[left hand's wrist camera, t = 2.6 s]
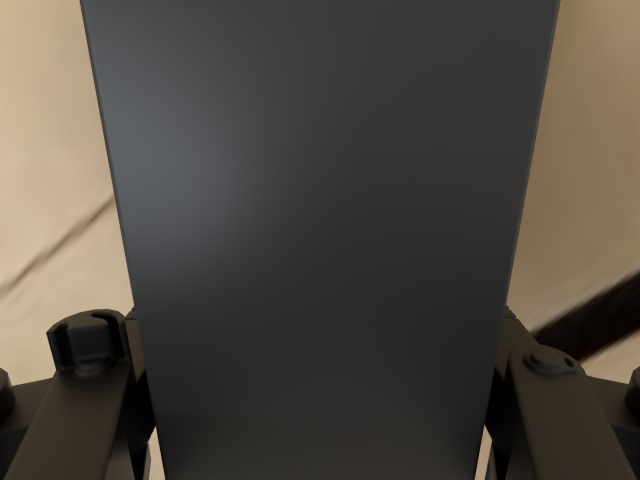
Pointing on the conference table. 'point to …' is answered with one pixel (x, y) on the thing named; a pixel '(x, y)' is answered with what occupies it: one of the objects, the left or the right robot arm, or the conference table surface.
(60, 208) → the conference table surface
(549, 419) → the left robot arm
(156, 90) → the bar
